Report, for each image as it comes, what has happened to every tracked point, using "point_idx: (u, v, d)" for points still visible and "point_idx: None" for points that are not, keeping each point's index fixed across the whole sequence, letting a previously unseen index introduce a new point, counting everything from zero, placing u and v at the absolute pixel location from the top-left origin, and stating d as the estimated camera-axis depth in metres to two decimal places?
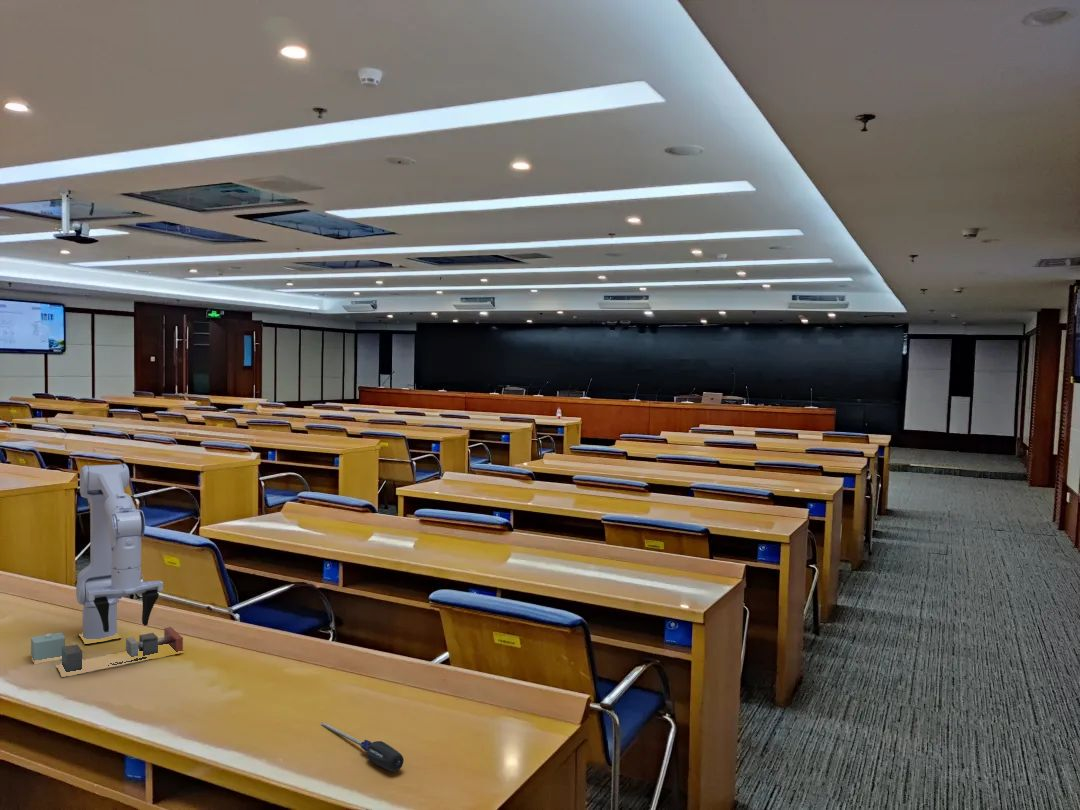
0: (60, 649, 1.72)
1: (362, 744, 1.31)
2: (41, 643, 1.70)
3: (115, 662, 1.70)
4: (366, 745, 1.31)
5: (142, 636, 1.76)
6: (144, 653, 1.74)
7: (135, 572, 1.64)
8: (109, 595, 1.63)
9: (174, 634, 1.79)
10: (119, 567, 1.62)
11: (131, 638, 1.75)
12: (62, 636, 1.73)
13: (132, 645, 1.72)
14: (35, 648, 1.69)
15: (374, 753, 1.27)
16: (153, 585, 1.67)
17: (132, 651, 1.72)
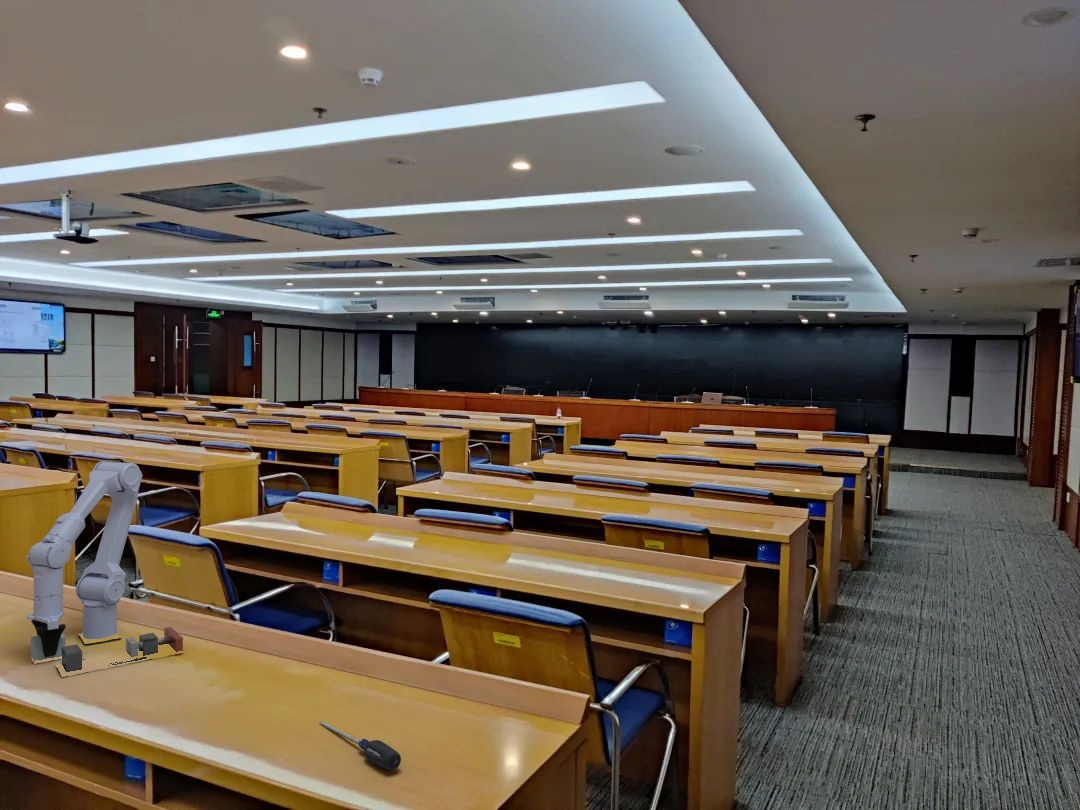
0: (60, 648, 1.72)
1: (360, 743, 1.32)
2: None
3: (115, 662, 1.70)
4: (364, 744, 1.31)
5: (142, 636, 1.76)
6: (144, 653, 1.74)
7: (36, 601, 1.70)
8: None
9: (174, 634, 1.79)
10: None
11: (131, 638, 1.75)
12: (62, 635, 1.73)
13: (132, 645, 1.72)
14: (35, 647, 1.69)
15: (372, 751, 1.28)
16: (44, 621, 1.68)
17: (132, 651, 1.72)
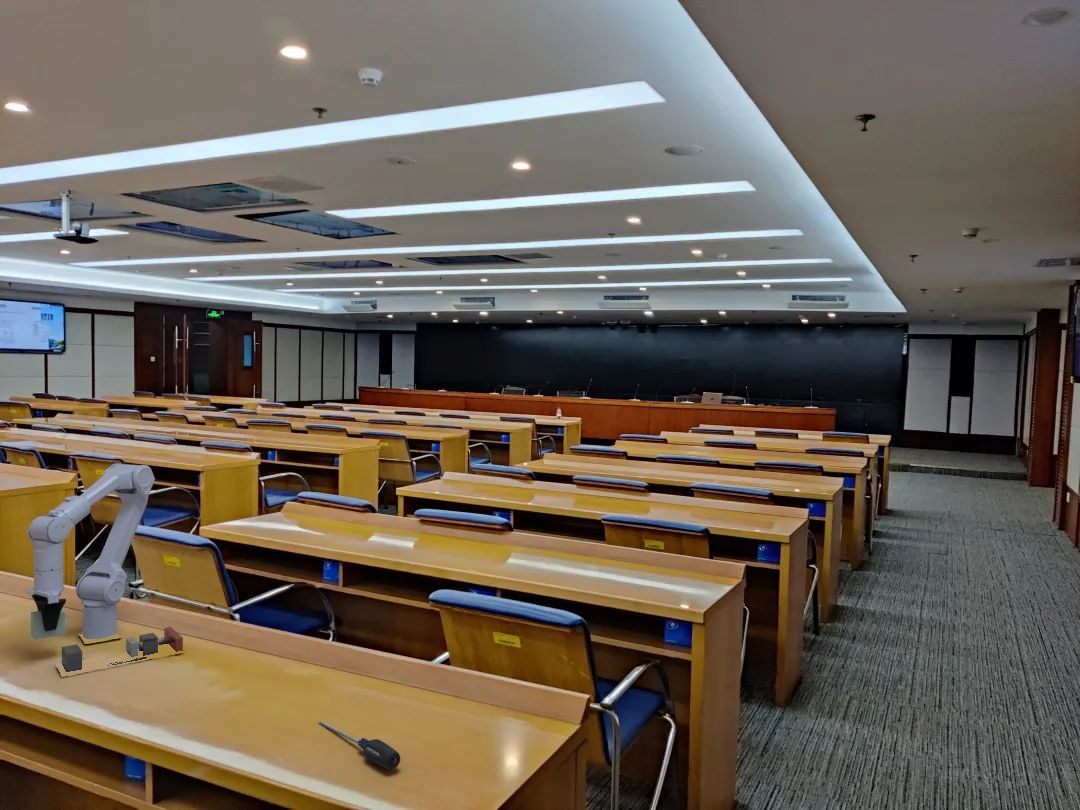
0: (60, 624, 1.72)
1: (359, 742, 1.32)
2: (41, 617, 1.69)
3: (115, 662, 1.70)
4: (363, 743, 1.31)
5: (142, 636, 1.76)
6: (144, 653, 1.74)
7: (36, 575, 1.69)
8: None
9: (174, 634, 1.79)
10: None
11: (131, 638, 1.75)
12: (62, 611, 1.73)
13: (132, 645, 1.72)
14: (35, 622, 1.69)
15: (371, 751, 1.28)
16: (45, 595, 1.67)
17: (132, 651, 1.72)
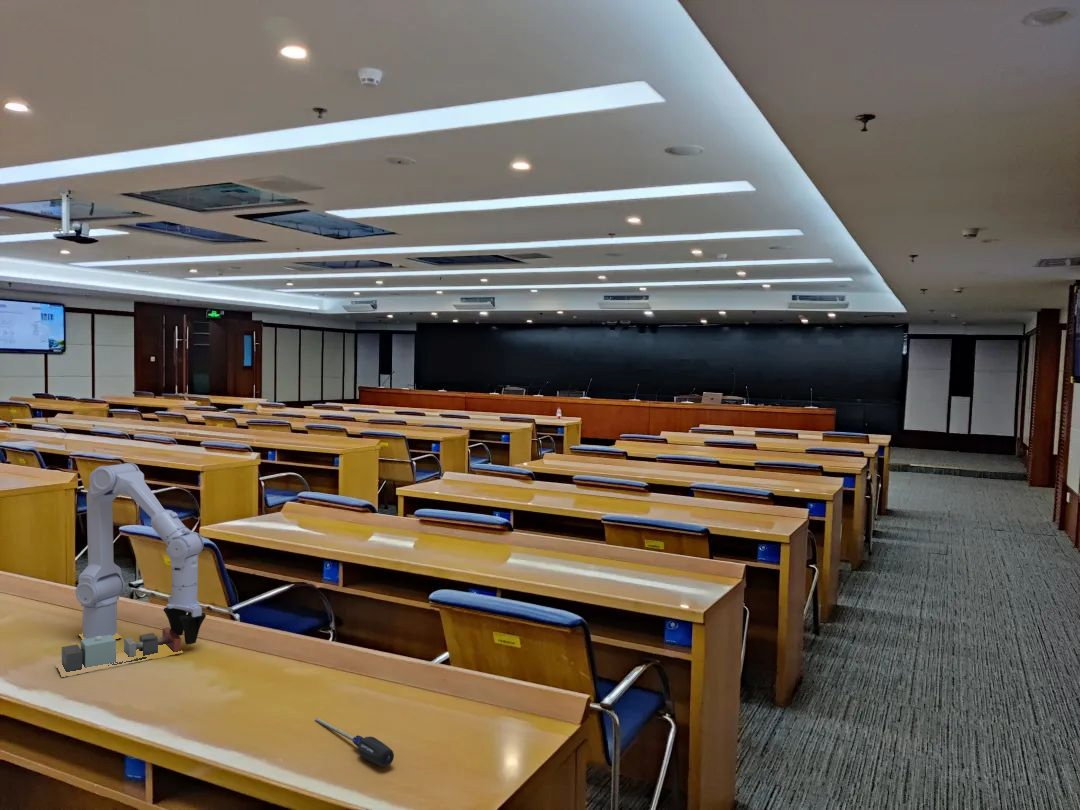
0: (111, 652, 1.69)
1: (354, 739, 1.33)
2: (92, 646, 1.67)
3: (115, 662, 1.70)
4: (358, 740, 1.32)
5: (142, 636, 1.76)
6: (144, 653, 1.74)
7: (176, 591, 1.78)
8: None
9: (173, 634, 1.79)
10: (187, 584, 1.79)
11: (129, 638, 1.75)
12: (112, 638, 1.70)
13: (130, 645, 1.72)
14: (86, 651, 1.66)
15: (365, 748, 1.29)
16: (188, 609, 1.77)
17: (130, 651, 1.72)
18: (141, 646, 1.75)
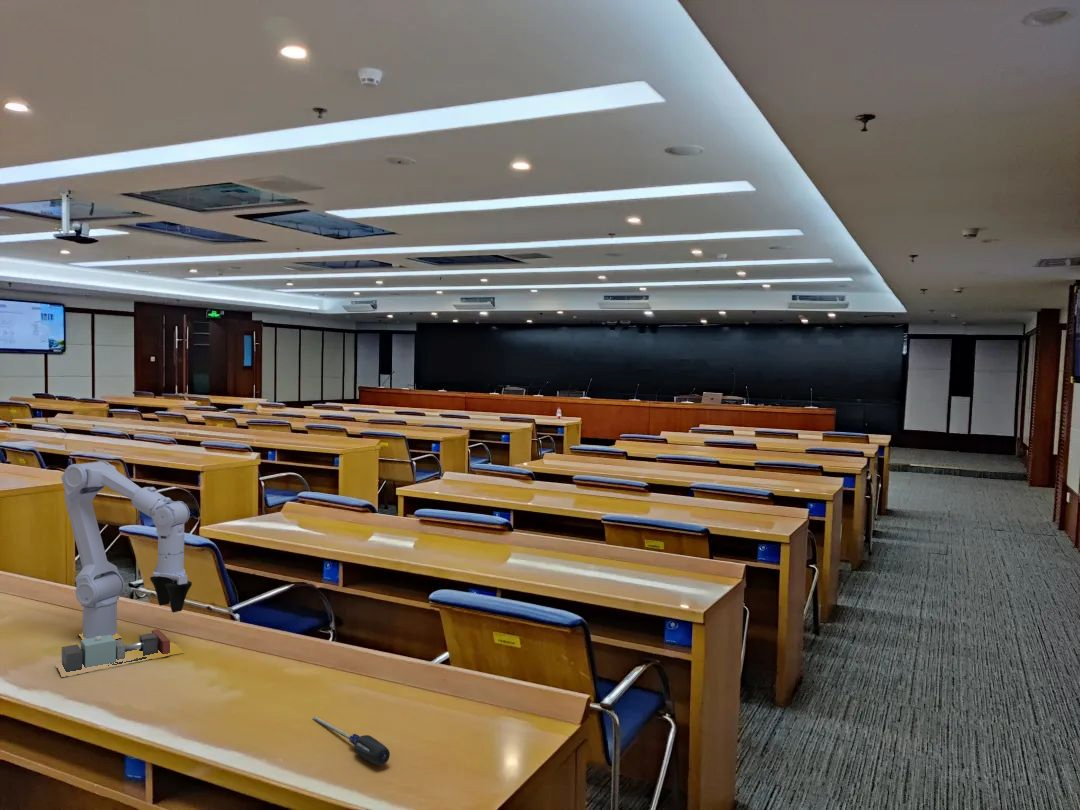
0: (111, 652, 1.69)
1: (350, 738, 1.33)
2: (92, 646, 1.67)
3: (115, 662, 1.70)
4: (354, 739, 1.33)
5: (142, 636, 1.76)
6: (144, 653, 1.74)
7: (162, 559, 1.79)
8: None
9: (162, 636, 1.77)
10: (173, 552, 1.79)
11: (117, 640, 1.74)
12: (112, 638, 1.70)
13: (118, 648, 1.70)
14: (86, 651, 1.66)
15: (361, 746, 1.29)
16: (173, 576, 1.77)
17: (118, 654, 1.70)
18: (129, 648, 1.73)
